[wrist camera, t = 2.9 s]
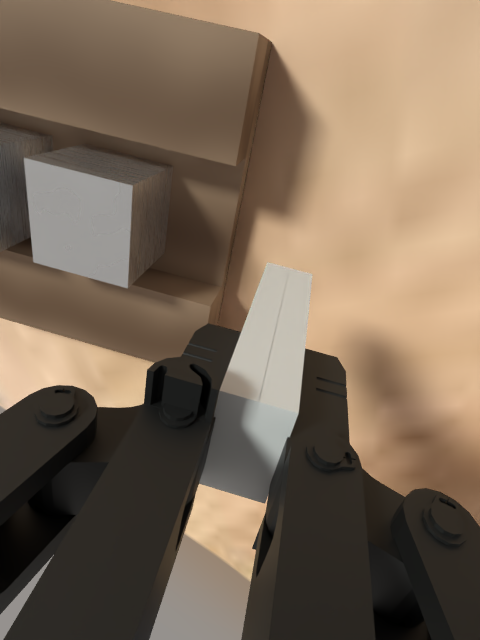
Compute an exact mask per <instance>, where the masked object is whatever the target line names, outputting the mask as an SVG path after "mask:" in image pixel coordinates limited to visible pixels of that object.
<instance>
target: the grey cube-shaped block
mask: <svg viewBox="0 0 480 640" xmlns="http://www.w3.org/2000/svg"><path fill="white" fill-rule="evenodd" d="M51 151H53V136H52V135H48V134H44V133H40V132H36V131H32V130H28V129H24V128H20V127H16V126H12V125H8V124H4V123H0V252H1V251H3V250H5V249H7V248H9V247H12V246H14V245H16V244H18V243H20V242H22V241H24V240H26V239H28V238H30V237H31V231H30V220H29V209H28V198H27V187H26V176H25V165H24V158H25V157H29V156H34V155H38V154H42V153H47V152H51Z"/></svg>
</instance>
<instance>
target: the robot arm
mask: <svg viewBox="0 0 480 640" xmlns="http://www.w3.org/2000/svg"><path fill="white" fill-rule="evenodd" d="M311 284H312V274H310V273H307V272H303V271H299V270H295V269H291V268H287V267H284V266H280V265H276V264H272V263H268V262H267V265H266V267H265V270H264V273H263V275H262V278H261V281H260V283H259V286H258V289H257V291H256V294H255V297H254V299H253V302H252V305H251V307H250V310H249V313H248V315H247V318H246V321H245V323H244V326H243V329H242V332H238V331H234V330H231V329H227V328H223V327H220V326H216V325H213V324H209V323H208V324H206V325H205V326H203V327H201V328H200V329H198V330H196V331H195V332H194V334H193V336H192V338H191V339H190V341H189V344H188V345H187V347H186V348H185V350H184V352H183V354H182V355H181V357H173V358H166V359H163V360H161V361H158V362H155V363H154V364H153V365H152V366H151V367H150V368H149V369H148V370H147V378H146V388H145V399H144V404H142V405H139V406H134V407H127V408H107V407H97V405H96V402H95V400H94V397H93V396H92V395H90V394H89V393H88V392H87V391H85V390H83V389H80V388H77V387H74V386H61V385H57V386H52V387H47V388H43V389H41V390H39V391H36V392H34V393H32V394H30V395H28V396H27V397H25V398H24V399H22V400H21V401H19V402H18V403H16V404H15V405H13V406H12V407H10V408H9V409H7V410H6V411H4V412H3V413H1V414H0V614H1V613H2V612H3V611H4V610H5V609H6V607H7V606H8V605H9V604H10V603H11V602H12V601H13V600H14V598H15V597H16V596H17V595H18V594H19V593H20V592H21V591H22V589H23V588H24V587H25V586H26V585H27V584H28V583H29V582H30V581H31V579H32V578H33V577H34V576H35V575H36V574H37V573H38V572H39V571H40V569H41V568H42V567H43V566H44V565H45V564H46V563H47V562H48V561H49V559H50V558H51V557H52V556H53V555H54V556H53V557H52V559H51V561H50V562H49V564H48V566H47V568H46V569H45V571H44V573H43V574H42V576H41V578H40V579H39V581H38V583H37V584H36V586H35V588H34V590H33V591H32V593H31V594H30V596H29V598H28V599H27V601H26V603H25V604H24V606H23V608H22V610H21V611H20V613H19V615H18V616H17V618H16V620H15V621H14V623H13V625H12V626H11V628H10V630H9V631H8V633H7V635H6V636H5V638H4V640H149V638H150V635H151V632H152V629H153V626H154V623H155V619H156V617H157V614H158V611H159V608H160V605H161V602H162V598H163V595H164V592H165V589H166V586H167V583H168V580H169V577H170V574H171V571H172V568H173V565H174V562H175V559H176V556H177V553H178V550H179V547H180V544H181V541H182V537H183V535H184V532H185V529H186V526H187V523H188V520H189V517H190V514H191V510H192V507H193V503H194V498H195V494H196V490H197V487H198V484H202V485H206V486H209V487H212V488H216V489H219V490H222V491H225V492H229V493H232V494H235V495H239V496H242V497H245V498H248V499H252V500H255V501H258V502H262V503H265V502H266V499H267V497H268V501H267V508H266V513H265V516H264V518H263V521H262V524H261V526H260V529H259V532H258V534H257V537H256V539H255V542H254V545H253V547H252V549H255V550H256V555H255V561H254V567H253V573H252V579H251V585H250V591H249V597H248V603H247V609H246V615H245V621H244V627H243V633H242V639H241V640H480V527H479V525H478V524H477V523H476V521H475V520H474V519H473V517H472V516H471V514H470V513H469V512H468V511H467V510H466V509H465V508H463V507H462V506H461V505H460V504H459V503H458V502H457V501H455V500H454V499H452V498H450V497H448V496H447V495H445V494H443V493H441V492H438V491H434V490H431V489H427V488H425V489H415V490H413V491H412V492H410V493H409V494H408V495H407V496H406V497H404V496H402V495H400V494H399V493H397V492H395V491H394V490H392V489H390V488H388V487H387V486H385V485H383V484H381V483H380V482H378V481H377V480H375V479H374V478H373V477H371V476H370V475H369V474H368V473H367V472H366V471H365V470H364V469H362V466H361V463H360V460H359V457H358V455H357V453H356V452H355V451H354V449H353V448H352V446H351V445H350V443H349V424H348V406H347V399H346V398H347V388H346V371H345V369H344V368H343V366H342V365H341V363H340V361H339V360H338V358H337V357H334V356H330V355H327V354H323V353H319V352H316V351H312V350H308V349H305V344H306V334H307V324H308V314H309V304H310V294H311ZM268 494H269V495H268Z"/></svg>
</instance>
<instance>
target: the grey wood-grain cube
mask: <svg viewBox="0 0 480 640" xmlns="http://www.w3.org/2000/svg"><path fill="white" fill-rule="evenodd" d="M24 165H25V176H26V187H27V198H28V209H29V220H30V231H31V242H32V253H33V262H34V263H38V264H41V265H45V266H48V267H52V268H56V269H59V270H63V271H67V272H70V273H74V274H77V275H81V276H85V277H88V278H92V279H95V280H99V281H103V282H106V283H110V284H114V285H117V286H121V287H124V288H129V287H130V286H131V285H132V284H133V283H134V282H135V281H136V280H137V279H138V278H139V277H140V276H141V275H142V274H143V273H144V272H145V271H146V270H147V269H148V268H149V267H150V266H151V265H152V264H153V263H154V262H155V261H156V260H157V259H158V258H160V257H161V256H162V255H163V254H164V253H165V243H166V233H167V223H168V212H169V202H170V192H171V182H172V172H173V166H172V165H168V164H164V163H160V162H156V161H152V160H148V159H144V158H140V157H136V156H132V155H128V154H124V153H120V152H116V151H112V150H108V149H104V148H100V147H96V146H92V145H88V144H82V145H77V146H73V147H69V148H64V149H60V150H56V151H51V152H47V153H42V154H38V155H34V156H29V157H25V158H24Z"/></svg>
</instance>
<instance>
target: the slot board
mask: <svg viewBox="0 0 480 640" xmlns="http://www.w3.org/2000/svg"><path fill="white" fill-rule="evenodd" d="M271 45H272V42H271V41H270V40H268V39H267V38H265V37H264V36H262V35H261V34H259V33H256V32H251V31H246V30H242V29H237V28H233V27H228V26H224V25H219V24H215V23H210V22H206V21H201V20H197V19H192V18H188V17H183V16H179V15H174V14H170V13H165V12H161V11H156V10H152V9H147V8H142V7H138V6H133V5H129V4H124V3H120V2H115V1H111V0H0V123H4V124H8V125H12V126H16V127H20V128H24V129H28V130H32V131H36V132H40V133H44V134H48V135H52V136H53V151H56V150H60V149H64V148H69V147H73V146H77V145H82V144H88V145H92V146H96V147H100V148H104V149H108V150H112V151H116V152H120V153H124V154H128V155H132V156H136V157H140V158H144V159H148V160H152V161H156V162H160V163H164V164H168V165H172V166H173V172H172V182H171V192H170V202H169V212H168V223H167V233H166V243H165V253H164V254H163V255H162V256H161V257H160V258H158V259H157V260H156V261H155V262H154V263H153V264H152V265H151V266H150V267H149V268H148V269H147V270H146V271H145V272H144V273H143V274H142V275H141V276H140V277H139V278H138V279H137V280H136V281H135V282H134V283H133V284H132V285H131V286H130V287H129V288H124V287H121V286H117V285H114V284H110V283H106V282H103V281H99V280H95V279H92V278H88V277H85V276H81V275H77V274H74V273H70V272H67V271H63V270H59V269H56V268H52V267H48V266H45V265H41V264H38V263H34V262H33V253H32V242H31V237H30V238H28V239H26V240H24V241H22V242H20V243H18V244H16V245H14V246H12V247H9V248H7V249H5V250H3V251H1V252H0V318H3V319H6V320H10V321H13V322H17V323H20V324H24V325H27V326H30V327H34V328H37V329H41V330H44V331H48V332H51V333H55V334H58V335H62V336H65V337H68V338H72V339H75V340H79V341H82V342H86V343H89V344H93V345H96V346H100V347H103V348H106V349H110V350H113V351H117V352H120V353H124V354H127V355H131V356H134V357H138V358H141V359H145V360H148V361H151V362H158V361H161V360H163V359H166V358H173V357H181V355H182V354H183V352H184V350H185V348H186V347H187V345H188V344H189V341H190V339H191V338H192V336H193V334H194V332H195V331H196V330H198V329H200V328H201V327H203V326H205V325H206V324H208V323H209V324H213V325H216V326H217V324H218V319H219V314H220V309H221V304H222V298H223V293H224V288H225V283H226V278H227V273H228V267H229V262H230V257H231V252H232V247H233V242H234V237H235V231H236V226H237V221H238V216H239V211H240V206H241V200H242V195H243V190H244V185H245V180H246V175H247V169H248V164H249V159H250V154H251V149H252V144H253V138H254V133H255V128H256V123H257V118H258V113H259V107H260V102H261V97H262V92H263V87H264V82H265V76H266V71H267V66H268V61H269V56H270V51H271Z"/></svg>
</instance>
